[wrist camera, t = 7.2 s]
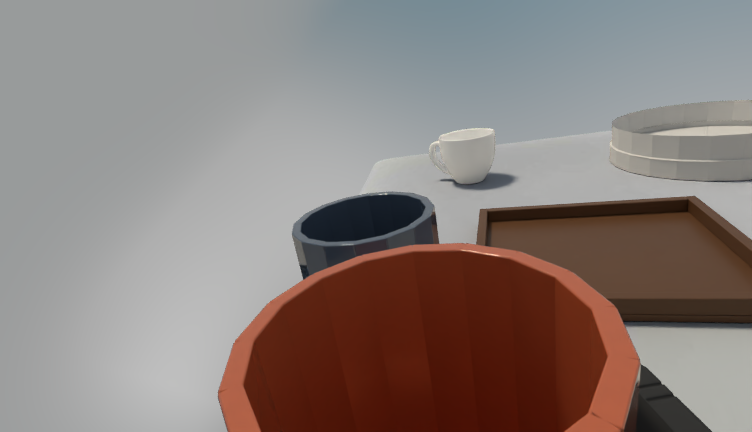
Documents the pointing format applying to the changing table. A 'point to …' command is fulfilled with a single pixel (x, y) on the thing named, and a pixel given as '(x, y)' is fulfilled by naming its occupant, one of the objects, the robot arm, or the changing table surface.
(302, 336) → the terracotta cup
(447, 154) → the cup
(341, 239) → the slate cup
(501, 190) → the changing table surface
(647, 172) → the dish
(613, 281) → the tray
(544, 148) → the changing table surface
